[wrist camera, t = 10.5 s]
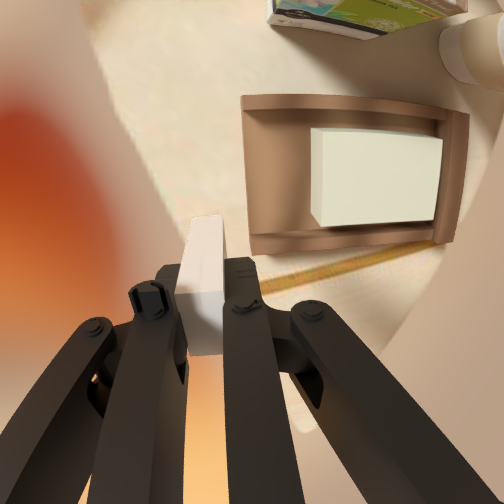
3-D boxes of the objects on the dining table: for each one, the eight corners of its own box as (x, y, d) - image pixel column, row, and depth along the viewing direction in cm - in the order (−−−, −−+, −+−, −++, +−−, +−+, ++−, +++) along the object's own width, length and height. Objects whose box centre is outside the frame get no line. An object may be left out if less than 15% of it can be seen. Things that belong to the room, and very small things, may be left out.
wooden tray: (249, 240, 30) (253, 261, 27) (240, 96, 24) (243, 94, 20) (432, 226, 32) (452, 242, 28) (444, 109, 25) (469, 114, 21)
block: (321, 226, 25) (433, 219, 26) (322, 131, 21) (442, 139, 22) (310, 212, 28) (415, 207, 29) (310, 127, 25) (422, 133, 25)
